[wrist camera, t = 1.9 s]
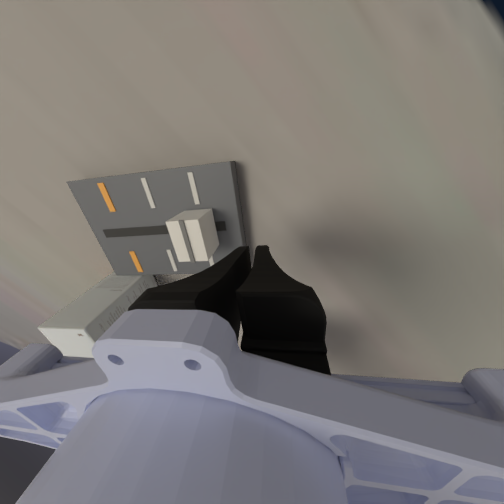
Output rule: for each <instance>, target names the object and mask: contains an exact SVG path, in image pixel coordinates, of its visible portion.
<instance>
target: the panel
mask: <svg viewBox="0 0 504 504" xmlns="http://www.w3.org/2000/svg"><path fill="white" fill-rule="evenodd" d="M67 184H68V186H69V188H70V189H71V191H72V193H73V195H74V197H75V199H76V201H77V202H78V204H79V206H80V208H81V210H82V212H83V214H84V215H85V217H86V219H87V221H88V223H89V225H90V227H91V229H92V230H93V232H94V234H95V236H96V238H97V240H98V242H99V243H100V245H101V247H102V249H103V251H104V253H105V255H106V257H107V258H108V260H109V262H110V264H111V266H112V268H113V270H114V271H115V273H116V275H155V274H197V273H199V272H201V271H203V270H205V269H207V268H209V267H211V266H212V265H214V264H215V263H217V262H218V261H220V260H221V259H223V258H224V257H226V256H227V255H228V254H230V253H231V252H232V251H234V250H235V249H236V248H238V247H240V246H246V240H245V233H244V225H243V218H242V211H241V203H240V196H239V189H238V182H237V174H236V167H235V161H229V162H221V163H213V164H205V165H197V166H189V167H181V168H173V169H165V170H157V171H149V172H141V173H133V174H125V175H117V176H109V177H101V178H93V179H85V180H77V181H69V182H67ZM200 209H212V212H213V217H214V221H215V226H216V231H217V236H218V240H219V246H218V247H217V249H216V250H215V252H214V253H213V255H212V256H211V258H210V259H209V261H196V262H195V263H191V261H189V262H179V261H178V258H177V255H176V252H175V249H174V246H173V243H172V240H171V237H170V234H169V231H168V228H167V225H166V221H168V220H169V219H171V218H173V217H174V216H176V215H178V214H180V213H181V212H183V211H188V210H200Z"/></svg>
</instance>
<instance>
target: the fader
mask: <svg viewBox="0 0 504 504" xmlns="http://www.w3.org/2000/svg"><path fill="white" fill-rule="evenodd" d="M166 225H167V228H168V231H169V234H170V237H171V240H172V243H173V246H174V249H175V252H176V255H177V258H178V261H179V262H189V261H191V263H195V262H196V261H209V259H210V258H211V256H212V255H213V253H214V252H215V250H216V249H217V247H218V246H219V240H218V236H217V231H216V226H215V221H214V217H213V212H212V209H200V210H188V211H183V212H181V213H180V214H178V215H176V216H174V217H173V218H171V219H169V220H168V221H166Z"/></svg>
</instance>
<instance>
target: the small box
mask: <svg viewBox="0 0 504 504" xmlns="http://www.w3.org/2000/svg"><path fill="white" fill-rule="evenodd" d="M152 287H157V283H156V281H155V279H154V276H153V275H116V273H115V271H114V272H112V273H111V274H110V275H108V276H107V277H105V278H104V279H103V280H101V281H100V282H99V283H97V284H96V285H94V286H93V287H92V288H90V289H89V290H88V291H86V292H85V293H84V294H82V295H81V296H79V297H78V298H77V299H75V300H74V301H73V302H71V303H70V304H68V305H67V306H66V307H64V308H63V309H61V310H60V311H59V312H57V313H56V314H55V315H53V316H52V317H51V318H49V319H48V320H47V321H45V322H44V323H43V324H41V325H40V326H39V327H38V329H39V330H40V331H41V332H42V333H43V334H44V335H45V336H46V338H47V339H48V340H49V341H50V342H51V343H52V344H53V345H54V346H56V347H57V348H58V349H59V350H60V351H61V352H62V354H63V356H72V357H87V358H94V357H93V354H92V347H93V346H94V344H95V342H96V341H97V340H98V339H99V338H100V337H101V336H102V334H103V333H104V332H105V331H106V330H107V329H108V328H109V327H110V326H111V325H112V324H113V323H114V322H115V321H116V320H117V319H118V318H119V317H120V316H121V315H122V314H123V313H124V312H126V311H128V308H129V307H130V306H131V305H132V304H133V303H134V302H135V301H136V299H137V298H138V297H139V296H140V295H141V294H142V293H143V292H144V291H145V290H146V289H148V288H152Z"/></svg>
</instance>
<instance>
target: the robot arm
mask: <svg viewBox="0 0 504 504" xmlns="http://www.w3.org/2000/svg"><path fill="white" fill-rule="evenodd" d="M241 323H242V328H243V336H242V341H241V350H242V351H241V350H240V349H239V346H238V337H239V330H240V324H241ZM325 332H326V315H325V311H324V309H323V307H322V304H321V302H320V300H319V298H318V297H317V295H316V293H315V291H314V290H313V288H312V287H309V286H307V285H304V284H302V283H300V282H298V281H296V280H294V279H293V278H291V277H290V276H288V275H287V274H286V273H285V272H283V271H282V270H281V269H280V267H279V266H278V265H277V264H276V262H275V261H274V259H273V258H272V256H271V254H270V251H269V247H268V246H267V245H262V246H257V247H256V250H255V258H254V264H253V267H252V269H251V261H250V253H249V246H240V247H238V248H236V249H235V250H234V251H232V252H231V253H230V254H228V255H227V256H226V257H224V258H223V259H221V260H220V261H218V262H217V263H215V264H214V265H212V266H211V267H209V268H207V269H205V270H203V271H201V272H199V273H197V274H194V275H192V276H189V277H187V278H184V279H181V280H179V281H175V282H172V283H169V284H165V285H161V286H157V287H152V288H148V289H146V290H145V291H144V292H143V293H142V294H141V295H140V296H139V297H138V298H137V299H136V301H135V302H134V303H133V304H132V305H131V306H130V307H129V308H128V311H126V312H124V313H123V314H122V315H121V316H120V317H119V318H118V319H117V320H116V321H115V322H114V323H113V324H112V325H111V326H110V327H109V328H108V329H107V330H106V331H105V332H104V333H103V334H102V336H101V337H100V338H99V339H98V340H97V341H96V342H95V344H94V346H93V347H92V354H93V357H94V358H87V357H72V356H63V354H62V352H61V351H60V350H59V349H58V348H57V347H56V346H54V345H51V344H40V343H30V344H29V345H27V346H26V347H25V348H23V349H22V350H21V351H19V352H18V353H17V354H15V355H14V356H13V357H11V358H10V359H9V360H7V361H6V362H5V363H4V364H2V365H1V366H0V437H6V438H11V439H16V440H22V441H26V442H30V443H34V444H38V445H42V446H46V447H50V448H53V449H56V451H55V452H54V454H53V455H52V456H51V457H50V459H49V460H48V461H47V463H46V464H45V465H44V467H43V468H42V469H41V471H40V472H39V473H38V475H37V476H36V477H35V478H34V480H33V481H32V483H31V484H30V485H29V486H28V488H27V489H26V490H25V492H24V493H23V494H22V496H21V497H20V499H19V500H18V501H17V502H16V504H504V369H492V368H476V369H473V370H470V371H468V372H467V373H466V374H465V375H464V377H463V380H462V382H461V383H457V382H442V381H428V380H413V379H398V378H383V377H368V376H354V375H339V374H331V372H330V368H329V364H328V360H327V356H326V354H327V348H326V344H325Z"/></svg>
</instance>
